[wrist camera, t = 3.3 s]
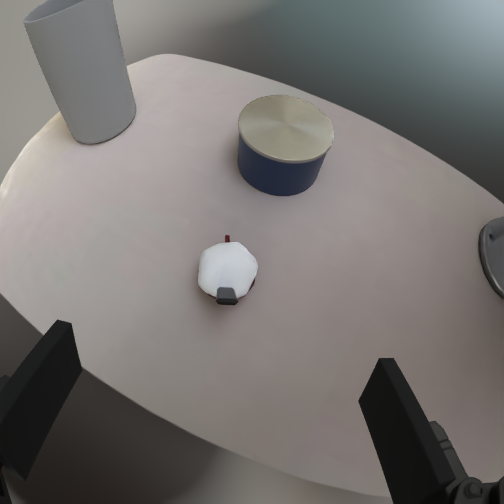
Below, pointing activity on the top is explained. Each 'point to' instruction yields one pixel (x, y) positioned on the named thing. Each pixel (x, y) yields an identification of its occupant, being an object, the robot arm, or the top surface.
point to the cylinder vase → (83, 66)
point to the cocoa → (227, 271)
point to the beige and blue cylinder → (282, 144)
